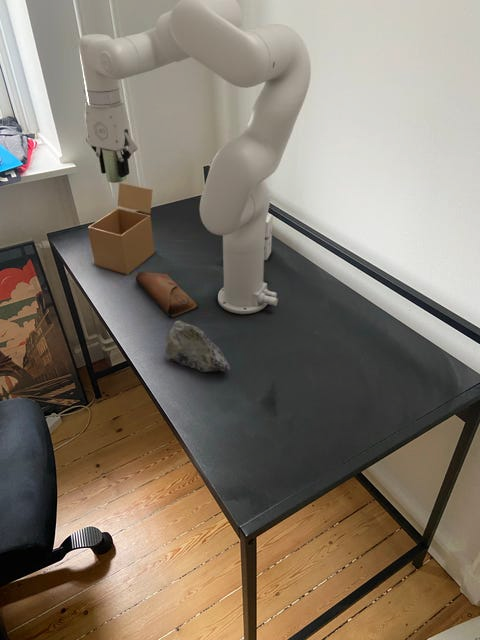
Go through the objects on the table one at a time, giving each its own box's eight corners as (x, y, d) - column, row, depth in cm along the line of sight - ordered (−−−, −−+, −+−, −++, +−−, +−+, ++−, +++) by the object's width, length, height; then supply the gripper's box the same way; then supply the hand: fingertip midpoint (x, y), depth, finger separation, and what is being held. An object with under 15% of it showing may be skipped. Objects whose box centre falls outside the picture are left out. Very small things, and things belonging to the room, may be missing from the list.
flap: (117, 205, 142) (118, 205, 143) (149, 213, 139) (150, 213, 139) (119, 182, 140) (119, 182, 141) (152, 189, 137) (152, 189, 137)
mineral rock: (233, 377, 106) (232, 339, 100) (184, 393, 102) (180, 355, 96) (208, 340, 115) (206, 304, 109) (162, 355, 111) (157, 317, 105)
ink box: (237, 256, 144) (236, 217, 137) (242, 248, 148) (242, 209, 141) (267, 261, 142) (268, 221, 135) (271, 252, 146) (273, 214, 139)
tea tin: (130, 177, 131) (125, 141, 125) (118, 184, 127) (113, 148, 122) (114, 173, 132) (109, 138, 127) (102, 180, 129) (96, 144, 123)
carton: (123, 244, 150) (117, 207, 143) (154, 252, 146) (150, 215, 139) (95, 264, 141) (87, 227, 134) (127, 274, 137) (121, 236, 130)
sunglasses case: (200, 305, 125) (186, 289, 120) (179, 325, 124) (164, 311, 119) (164, 272, 137) (150, 257, 132) (145, 291, 136) (130, 276, 131)
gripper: (63, 95, 118) (78, 172, 129) (124, 105, 112) (134, 185, 123) (85, 88, 124) (98, 163, 135) (144, 97, 117) (152, 174, 129)
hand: (115, 172), depth 129 cm, fingers closed on tea tin, 4 cm apart
